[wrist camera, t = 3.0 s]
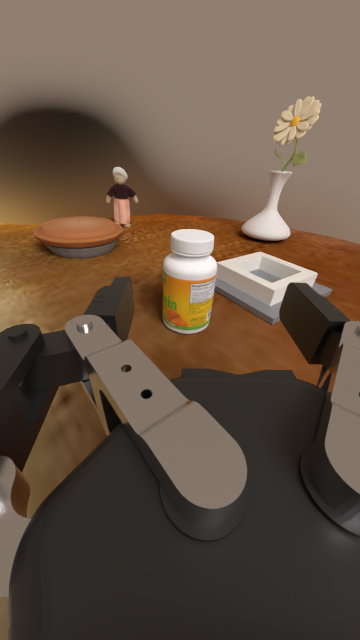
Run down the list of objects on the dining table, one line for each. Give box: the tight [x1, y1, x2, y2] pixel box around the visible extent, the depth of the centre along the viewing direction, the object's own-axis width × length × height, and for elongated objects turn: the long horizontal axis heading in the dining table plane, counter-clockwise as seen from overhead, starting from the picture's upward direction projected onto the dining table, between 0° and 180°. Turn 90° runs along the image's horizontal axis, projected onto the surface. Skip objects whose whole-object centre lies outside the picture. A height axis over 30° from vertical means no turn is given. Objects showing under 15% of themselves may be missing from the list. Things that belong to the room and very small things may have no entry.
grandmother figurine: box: [106, 167, 138, 227], centre depth 57 cm, size 8×4×13 cm, turn 106°
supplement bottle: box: [163, 229, 217, 334], centre depth 24 cm, size 5×5×10 cm
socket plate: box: [214, 252, 332, 325], centre depth 34 cm, size 14×14×3 cm
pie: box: [33, 216, 124, 258], centre depth 44 cm, size 16×16×5 cm
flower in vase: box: [241, 96, 321, 241], centre depth 49 cm, size 13×11×25 cm
